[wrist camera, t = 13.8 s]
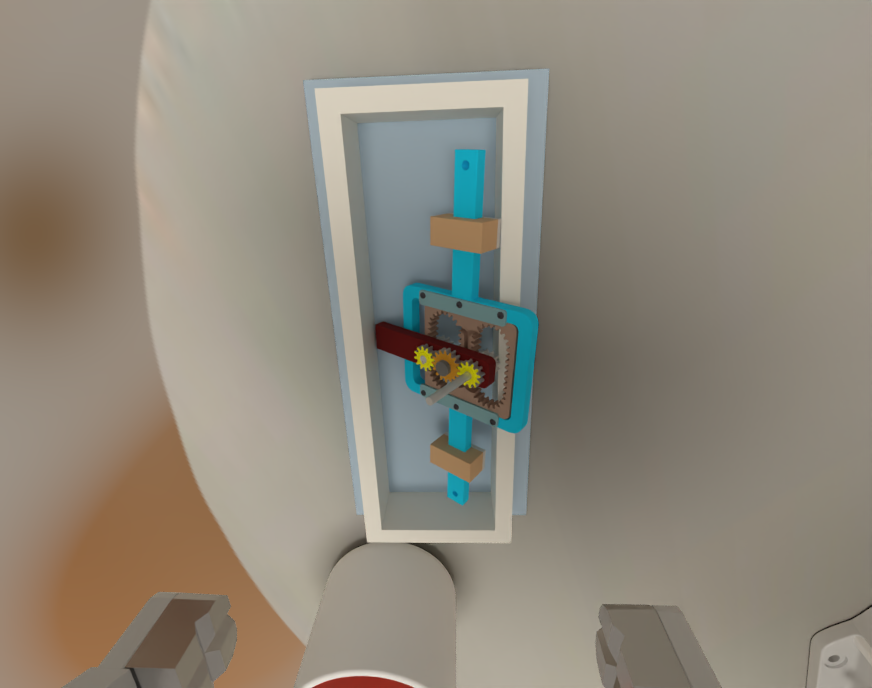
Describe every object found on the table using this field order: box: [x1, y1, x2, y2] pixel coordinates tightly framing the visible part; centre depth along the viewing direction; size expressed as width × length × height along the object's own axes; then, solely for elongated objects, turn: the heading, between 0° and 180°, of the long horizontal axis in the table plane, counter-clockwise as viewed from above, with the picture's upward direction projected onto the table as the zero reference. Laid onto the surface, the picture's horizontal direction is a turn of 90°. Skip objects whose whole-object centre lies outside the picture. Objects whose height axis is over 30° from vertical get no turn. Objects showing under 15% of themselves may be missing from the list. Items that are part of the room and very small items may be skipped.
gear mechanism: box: [375, 149, 539, 506], centre depth 22 cm, size 20×5×9 cm
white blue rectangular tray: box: [303, 69, 549, 543], centre depth 25 cm, size 27×12×4 cm, turn 2°
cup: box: [294, 542, 456, 688], centre depth 30 cm, size 10×10×10 cm
